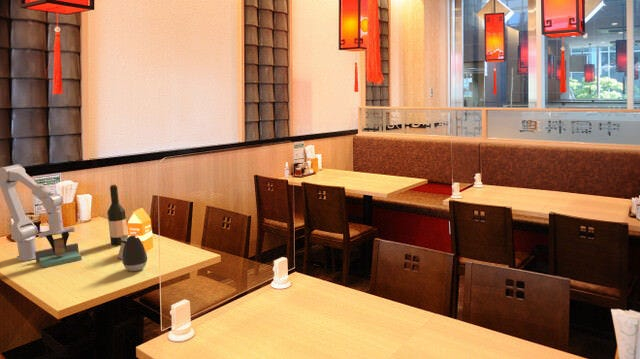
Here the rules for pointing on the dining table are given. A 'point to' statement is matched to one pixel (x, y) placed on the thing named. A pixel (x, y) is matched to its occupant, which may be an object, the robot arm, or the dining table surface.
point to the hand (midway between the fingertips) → (59, 249)
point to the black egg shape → (133, 254)
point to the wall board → (49, 258)
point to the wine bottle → (116, 218)
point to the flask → (122, 246)
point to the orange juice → (141, 228)
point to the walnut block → (59, 246)
